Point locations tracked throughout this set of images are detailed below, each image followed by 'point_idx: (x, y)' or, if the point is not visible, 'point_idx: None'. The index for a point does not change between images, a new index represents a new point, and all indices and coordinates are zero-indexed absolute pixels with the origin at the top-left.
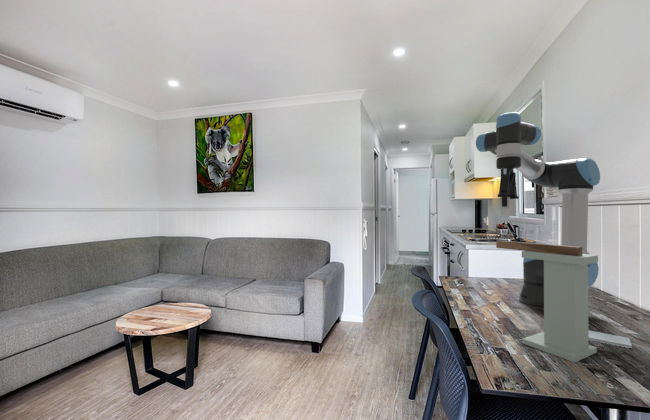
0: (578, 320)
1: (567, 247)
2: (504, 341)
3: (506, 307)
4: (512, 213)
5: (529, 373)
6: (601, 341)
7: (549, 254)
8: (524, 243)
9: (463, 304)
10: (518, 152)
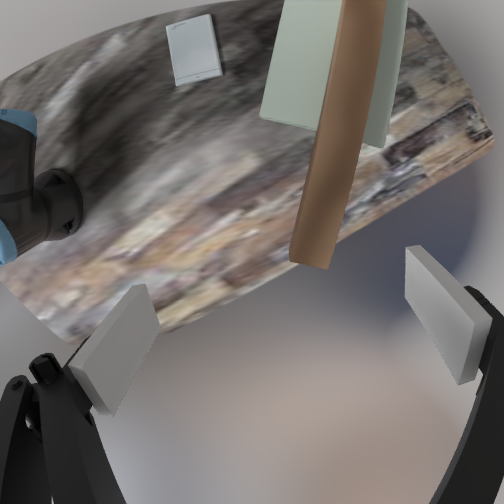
0: None
1: (385, 3)
2: None
3: (136, 232)
4: (144, 313)
5: (438, 108)
6: (216, 47)
7: (400, 58)
8: (360, 146)
9: (191, 300)
10: None
